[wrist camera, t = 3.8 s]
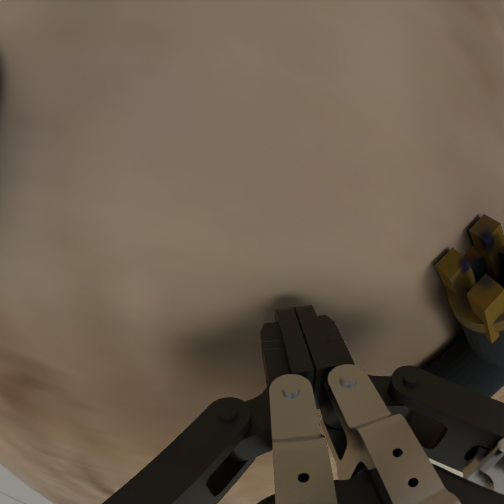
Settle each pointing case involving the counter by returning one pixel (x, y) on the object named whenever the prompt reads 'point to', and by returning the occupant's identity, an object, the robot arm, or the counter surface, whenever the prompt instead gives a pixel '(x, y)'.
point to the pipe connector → (476, 311)
